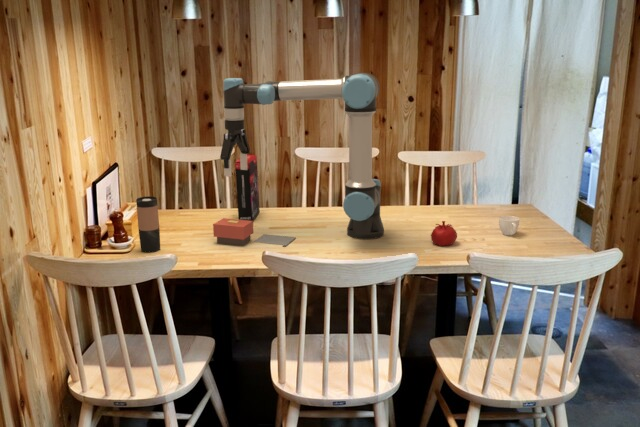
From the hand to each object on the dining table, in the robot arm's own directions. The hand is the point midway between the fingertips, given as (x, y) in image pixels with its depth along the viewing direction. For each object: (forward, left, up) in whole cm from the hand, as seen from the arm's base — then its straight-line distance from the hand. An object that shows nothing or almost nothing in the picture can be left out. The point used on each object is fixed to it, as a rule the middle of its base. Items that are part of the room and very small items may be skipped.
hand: (236, 173), depth 247 cm
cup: (-104, -34, -26) cm, 113 cm away
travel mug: (+25, +26, -26) cm, 44 cm away
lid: (-2, +9, -23) cm, 25 cm away
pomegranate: (-80, -15, -26) cm, 86 cm away
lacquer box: (-2, +9, -26) cm, 28 cm away
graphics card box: (+8, -26, -26) cm, 38 cm away
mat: (-16, +2, -26) cm, 31 cm away
